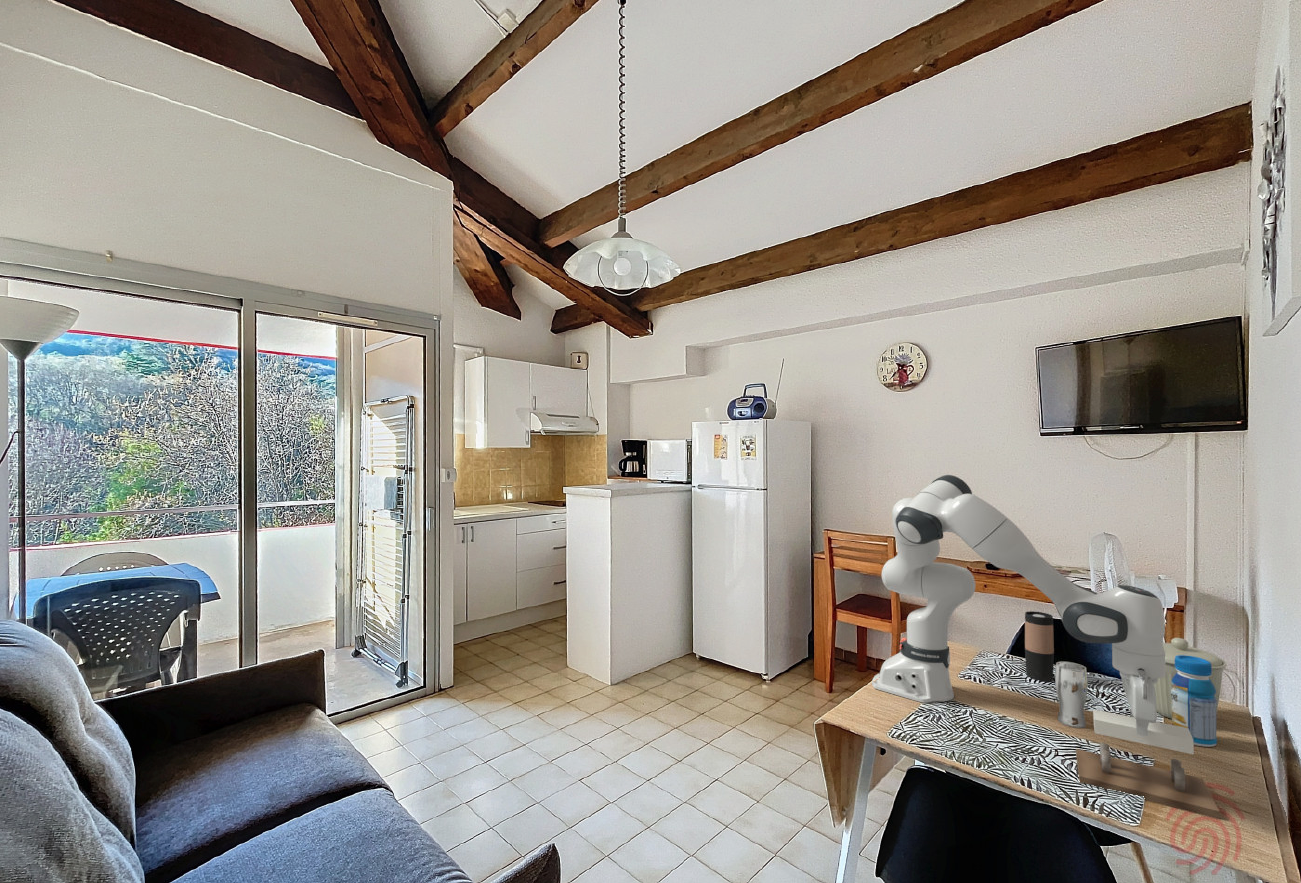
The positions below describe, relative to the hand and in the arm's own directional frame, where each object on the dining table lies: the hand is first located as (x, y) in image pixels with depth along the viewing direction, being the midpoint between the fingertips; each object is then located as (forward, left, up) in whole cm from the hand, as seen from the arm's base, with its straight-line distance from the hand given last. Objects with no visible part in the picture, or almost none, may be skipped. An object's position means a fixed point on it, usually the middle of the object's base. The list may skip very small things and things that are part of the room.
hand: (1139, 727), depth 125 cm
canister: (+14, +49, -13) cm, 53 cm away
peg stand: (0, 0, -12) cm, 12 cm away
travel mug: (-18, +60, -13) cm, 64 cm away
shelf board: (0, 0, -2) cm, 2 cm away
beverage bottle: (+14, +33, -13) cm, 38 cm away
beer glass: (-11, +27, -13) cm, 32 cm away
